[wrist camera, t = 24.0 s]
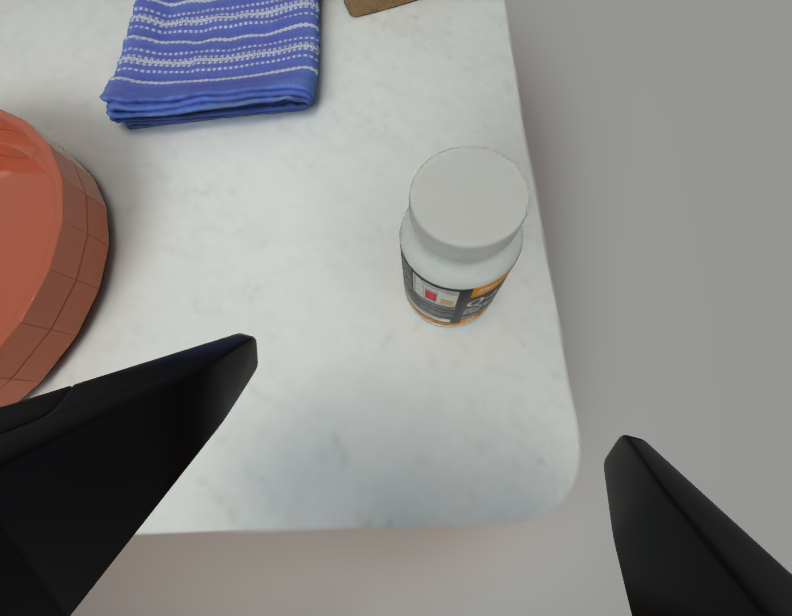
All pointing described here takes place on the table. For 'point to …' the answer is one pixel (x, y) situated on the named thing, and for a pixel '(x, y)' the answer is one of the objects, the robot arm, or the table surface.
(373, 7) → the candle holder
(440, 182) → the pill bottle
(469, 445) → the table surface
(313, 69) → the dish towel
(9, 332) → the bowl
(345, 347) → the table surface
